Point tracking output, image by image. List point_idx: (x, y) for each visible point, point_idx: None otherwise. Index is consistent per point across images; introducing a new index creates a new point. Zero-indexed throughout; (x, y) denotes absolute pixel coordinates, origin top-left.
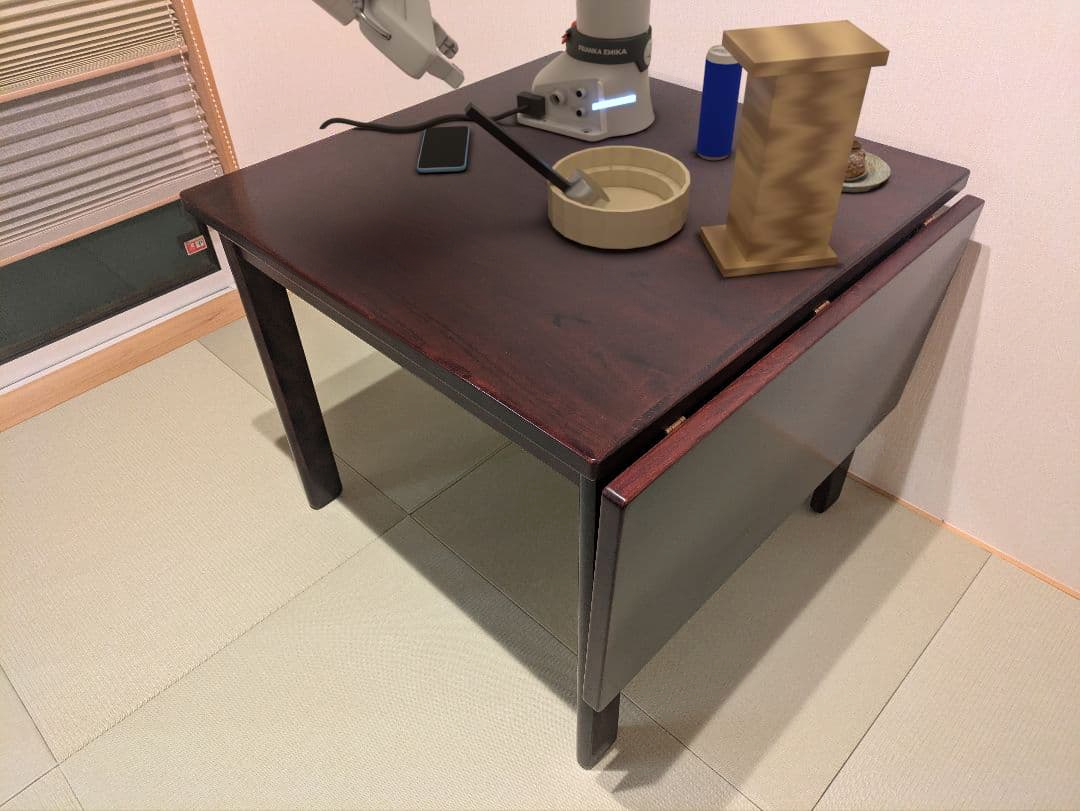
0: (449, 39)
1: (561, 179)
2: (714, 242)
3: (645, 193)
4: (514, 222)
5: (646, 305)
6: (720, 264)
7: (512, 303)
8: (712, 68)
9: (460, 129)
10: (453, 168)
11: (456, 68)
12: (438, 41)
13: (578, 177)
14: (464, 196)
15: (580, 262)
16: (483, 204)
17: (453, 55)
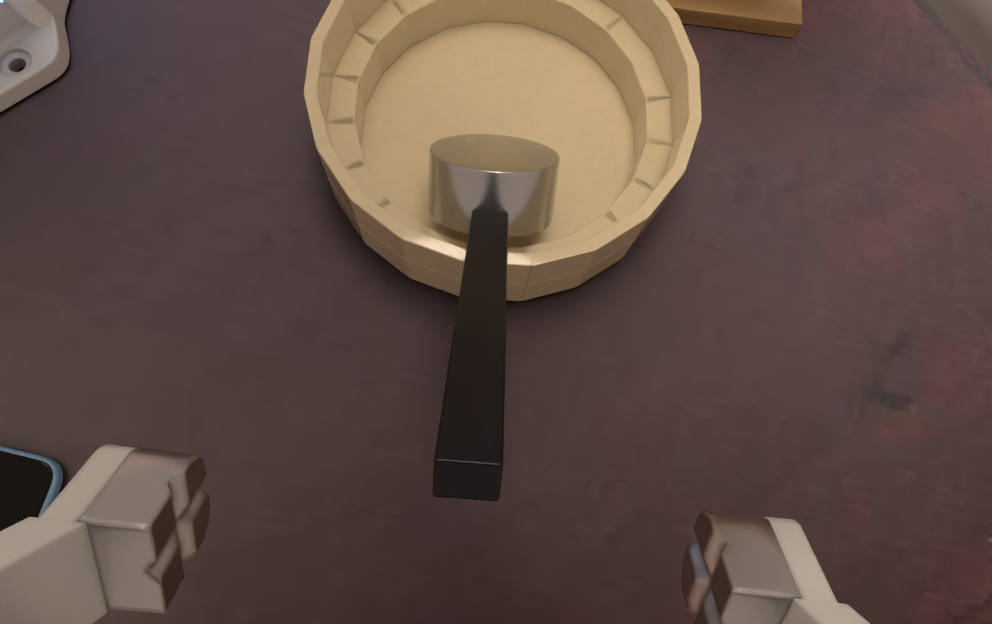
0: (150, 517)
1: (507, 224)
2: (699, 1)
3: (430, 48)
4: (434, 388)
5: (861, 206)
6: (773, 24)
7: (807, 482)
8: None
9: None
10: (50, 501)
11: (803, 573)
12: (68, 606)
13: (515, 177)
14: (229, 497)
15: (670, 283)
16: (301, 450)
17: (205, 499)
